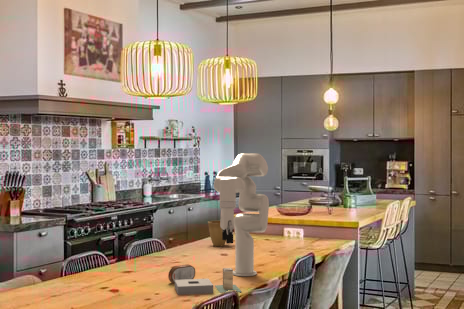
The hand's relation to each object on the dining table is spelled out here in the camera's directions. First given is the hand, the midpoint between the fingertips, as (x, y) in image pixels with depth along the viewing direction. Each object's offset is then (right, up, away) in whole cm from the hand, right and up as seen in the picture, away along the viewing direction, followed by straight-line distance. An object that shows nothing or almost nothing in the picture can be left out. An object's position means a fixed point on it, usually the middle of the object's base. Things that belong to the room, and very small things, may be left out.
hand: (227, 241), depth 284 cm
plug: (0, -22, 0) cm, 22 cm away
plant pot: (-7, -21, +126) cm, 128 cm away
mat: (0, -22, 0) cm, 22 cm away
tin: (-22, -22, +15) cm, 35 cm away
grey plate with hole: (-16, -22, -3) cm, 27 cm away
